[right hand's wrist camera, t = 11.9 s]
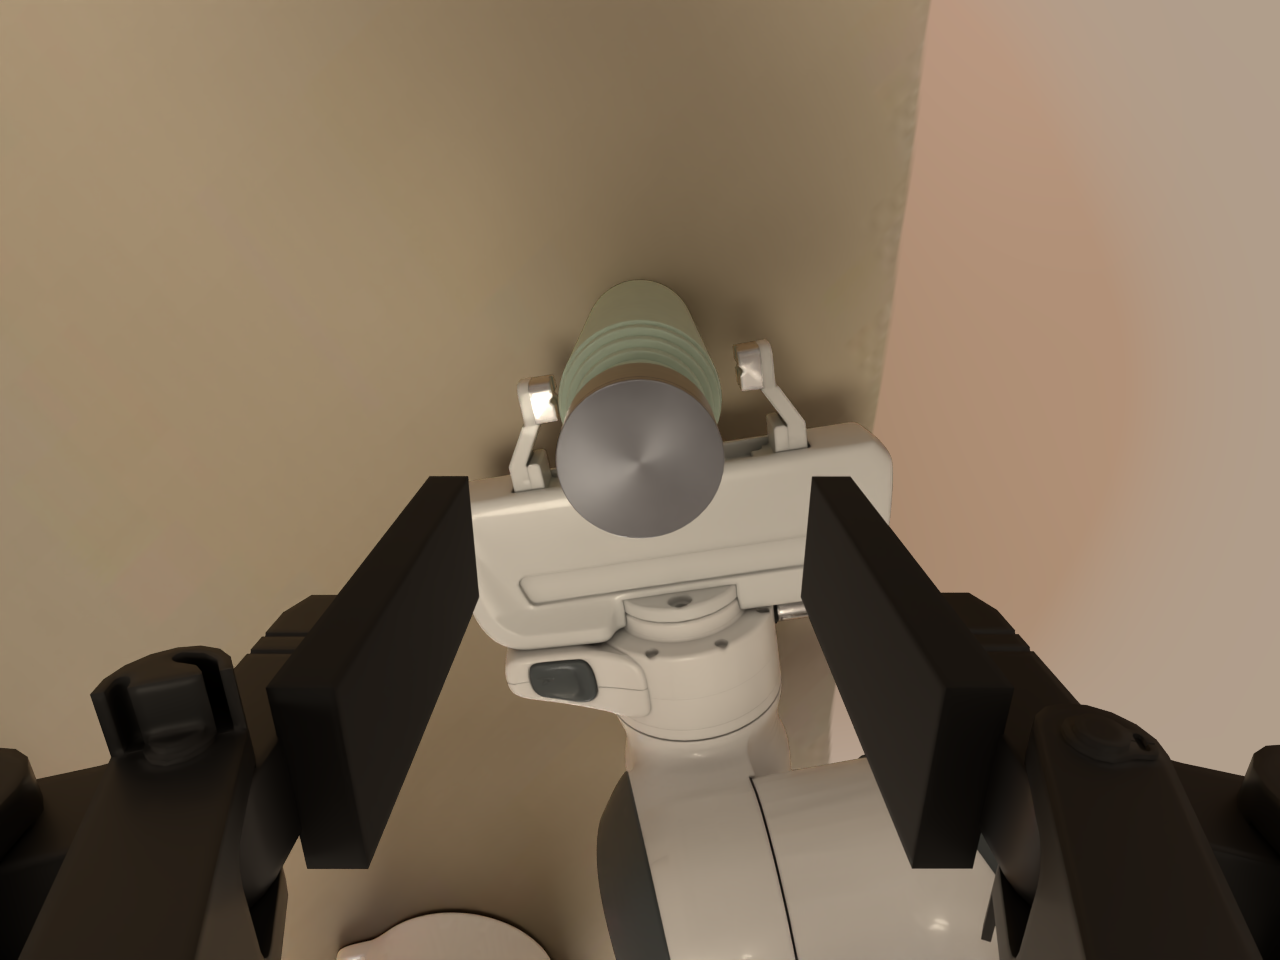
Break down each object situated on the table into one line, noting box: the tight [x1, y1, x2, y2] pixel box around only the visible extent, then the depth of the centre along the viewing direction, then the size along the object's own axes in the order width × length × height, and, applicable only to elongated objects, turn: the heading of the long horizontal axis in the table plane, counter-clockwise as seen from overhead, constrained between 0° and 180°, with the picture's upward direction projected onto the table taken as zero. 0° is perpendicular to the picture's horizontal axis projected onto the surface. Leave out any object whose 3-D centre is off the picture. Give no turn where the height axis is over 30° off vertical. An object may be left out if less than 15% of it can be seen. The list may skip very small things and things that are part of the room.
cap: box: [556, 363, 725, 538], centre depth 20 cm, size 4×4×2 cm
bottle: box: [558, 280, 722, 424], centre depth 28 cm, size 6×6×19 cm
